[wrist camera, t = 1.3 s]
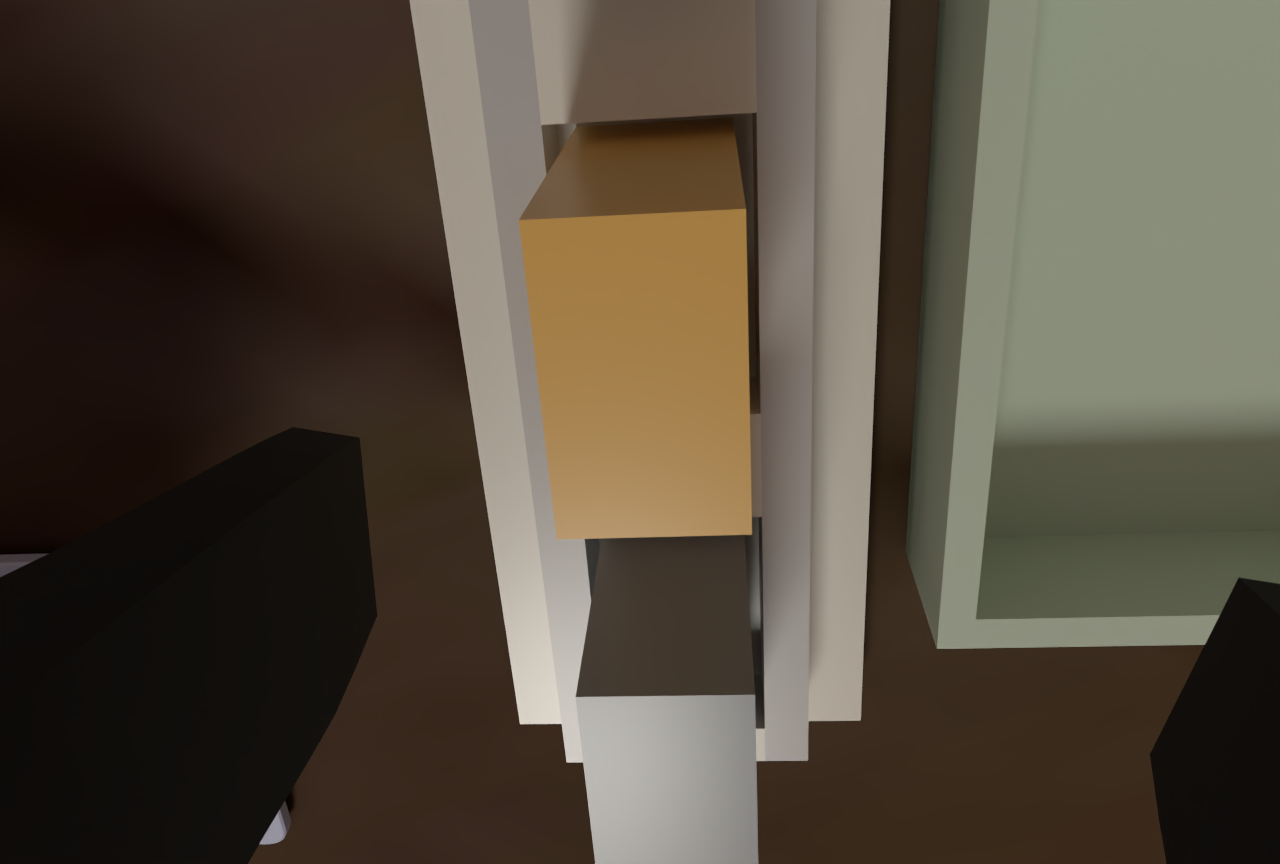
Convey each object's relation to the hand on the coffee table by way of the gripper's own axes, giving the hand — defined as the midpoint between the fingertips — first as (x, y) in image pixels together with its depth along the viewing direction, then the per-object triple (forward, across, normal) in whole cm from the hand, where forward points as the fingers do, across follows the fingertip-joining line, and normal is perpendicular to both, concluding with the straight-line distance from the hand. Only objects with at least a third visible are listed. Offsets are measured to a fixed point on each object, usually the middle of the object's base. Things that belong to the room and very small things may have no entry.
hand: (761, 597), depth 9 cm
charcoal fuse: (+8, +1, +7) cm, 11 cm away
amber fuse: (+9, +2, +1) cm, 9 cm away
